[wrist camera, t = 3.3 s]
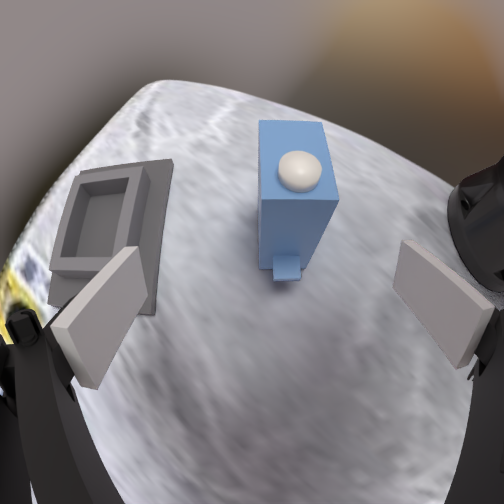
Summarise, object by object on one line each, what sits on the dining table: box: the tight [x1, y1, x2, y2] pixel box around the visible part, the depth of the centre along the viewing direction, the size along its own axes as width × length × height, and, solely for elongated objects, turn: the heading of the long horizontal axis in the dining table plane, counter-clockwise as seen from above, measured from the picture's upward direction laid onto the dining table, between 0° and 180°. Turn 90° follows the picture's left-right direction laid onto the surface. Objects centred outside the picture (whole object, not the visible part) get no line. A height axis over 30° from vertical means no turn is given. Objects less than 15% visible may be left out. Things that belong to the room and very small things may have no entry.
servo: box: [258, 120, 339, 281], centre depth 20 cm, size 10×4×12 cm, turn 1°
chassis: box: [47, 159, 174, 315], centre depth 24 cm, size 16×12×4 cm
